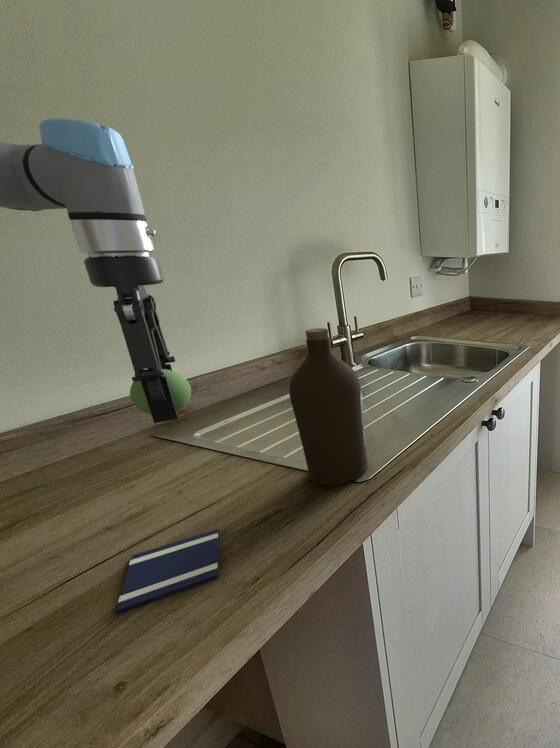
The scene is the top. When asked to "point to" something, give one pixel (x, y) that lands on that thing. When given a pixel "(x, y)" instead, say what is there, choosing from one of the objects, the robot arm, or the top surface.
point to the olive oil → (329, 413)
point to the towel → (170, 569)
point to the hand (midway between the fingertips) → (168, 411)
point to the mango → (177, 387)
